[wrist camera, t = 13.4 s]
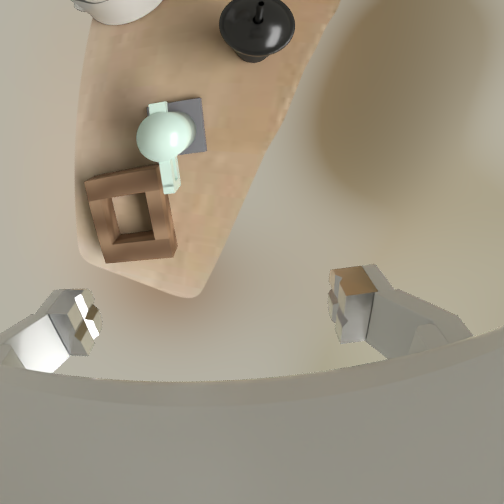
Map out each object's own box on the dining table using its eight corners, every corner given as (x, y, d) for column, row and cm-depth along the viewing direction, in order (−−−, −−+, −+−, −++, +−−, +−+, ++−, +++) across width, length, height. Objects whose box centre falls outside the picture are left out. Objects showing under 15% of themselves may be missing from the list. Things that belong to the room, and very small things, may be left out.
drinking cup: (218, 63, 37) (199, 28, 19) (236, 19, 34) (233, -40, 16) (268, 79, 38) (290, 55, 20) (286, 35, 35) (319, -14, 17)
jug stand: (95, 175, 43) (83, 182, 40) (162, 163, 43) (155, 168, 40) (114, 252, 50) (105, 263, 46) (177, 246, 50) (172, 257, 46)
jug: (153, 107, 38) (132, 107, 30) (193, 100, 38) (181, 98, 30) (163, 180, 43) (145, 197, 35) (201, 175, 43) (192, 191, 35)
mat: (148, 107, 39) (146, 107, 38) (201, 98, 39) (200, 97, 38) (155, 157, 43) (153, 158, 42) (206, 150, 43) (206, 151, 42)
